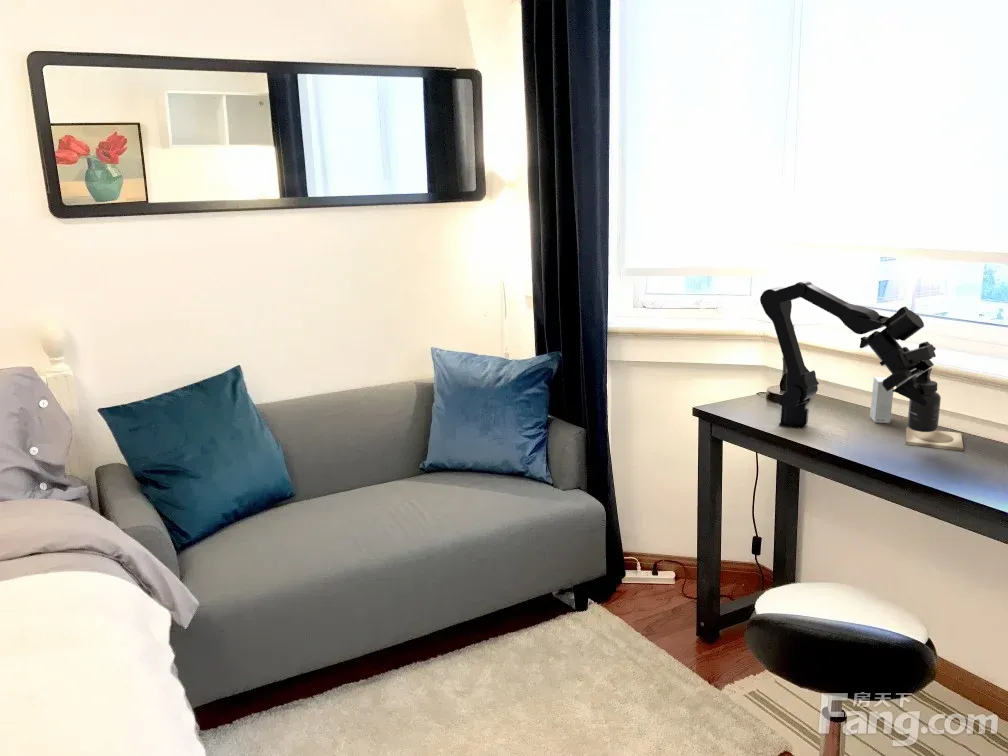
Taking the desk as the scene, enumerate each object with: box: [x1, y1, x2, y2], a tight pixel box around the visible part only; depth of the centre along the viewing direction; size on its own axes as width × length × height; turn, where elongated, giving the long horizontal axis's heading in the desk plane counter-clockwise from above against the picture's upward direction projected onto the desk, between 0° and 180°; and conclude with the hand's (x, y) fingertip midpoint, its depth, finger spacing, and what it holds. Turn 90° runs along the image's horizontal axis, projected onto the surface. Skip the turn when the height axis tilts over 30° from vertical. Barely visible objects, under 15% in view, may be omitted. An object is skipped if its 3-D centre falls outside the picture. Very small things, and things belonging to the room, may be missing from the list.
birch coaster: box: [905, 427, 964, 452], centre depth 210 cm, size 13×13×1 cm
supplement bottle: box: [907, 379, 941, 432], centre depth 198 cm, size 7×7×12 cm
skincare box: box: [869, 376, 895, 424], centre depth 226 cm, size 6×4×12 cm
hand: (930, 401), depth 197 cm, fingers closed on supplement bottle, 7 cm apart
